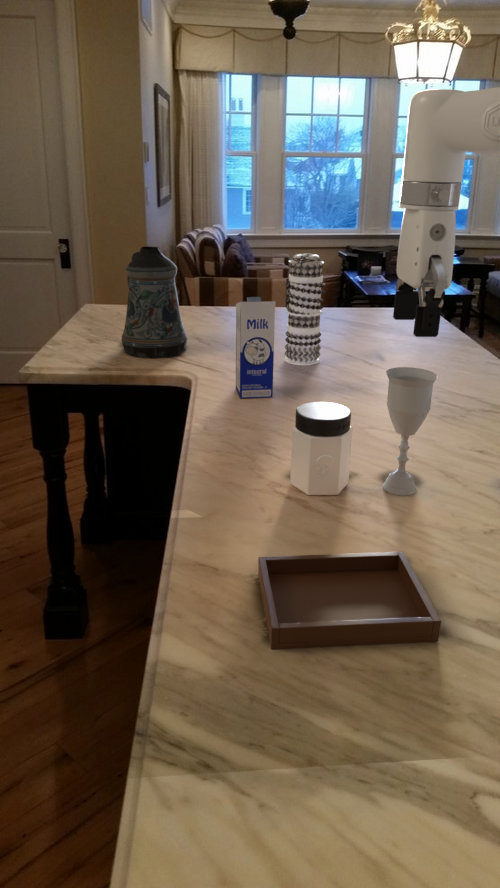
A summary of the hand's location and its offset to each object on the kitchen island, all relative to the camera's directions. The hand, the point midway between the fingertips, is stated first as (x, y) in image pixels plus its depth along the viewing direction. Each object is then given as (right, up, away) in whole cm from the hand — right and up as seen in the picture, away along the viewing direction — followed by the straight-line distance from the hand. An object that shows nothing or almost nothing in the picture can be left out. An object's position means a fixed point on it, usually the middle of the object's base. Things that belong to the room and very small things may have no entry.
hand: (414, 327), depth 97 cm
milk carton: (-22, -6, +50) cm, 55 cm away
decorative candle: (-10, +4, +73) cm, 74 cm away
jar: (-12, -23, +10) cm, 28 cm away
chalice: (0, -23, +10) cm, 25 cm away
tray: (-12, -34, -18) cm, 41 cm away
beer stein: (-48, +8, +81) cm, 95 cm away
